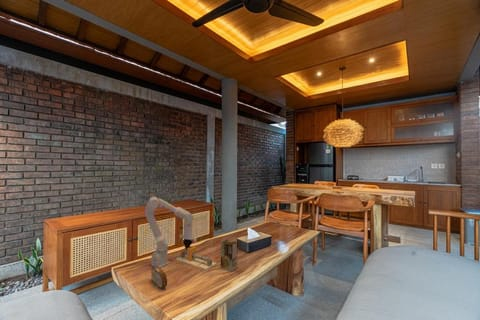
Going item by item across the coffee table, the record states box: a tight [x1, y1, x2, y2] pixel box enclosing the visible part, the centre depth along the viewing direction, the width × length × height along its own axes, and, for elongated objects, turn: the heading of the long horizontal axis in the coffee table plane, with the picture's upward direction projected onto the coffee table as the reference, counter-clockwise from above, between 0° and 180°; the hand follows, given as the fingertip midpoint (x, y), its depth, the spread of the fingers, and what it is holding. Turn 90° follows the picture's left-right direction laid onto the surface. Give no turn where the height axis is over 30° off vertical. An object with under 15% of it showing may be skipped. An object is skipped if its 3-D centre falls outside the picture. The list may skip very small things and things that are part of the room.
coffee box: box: [220, 239, 239, 272], centre depth 141 cm, size 9×6×16 cm
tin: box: [150, 266, 168, 289], centre depth 119 cm, size 15×3×8 cm, turn 44°
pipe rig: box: [175, 249, 217, 271], centre depth 148 cm, size 27×10×6 cm, turn 58°
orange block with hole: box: [187, 245, 197, 260], centre depth 150 cm, size 4×5×7 cm
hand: (187, 250), depth 152 cm, fingers closed
